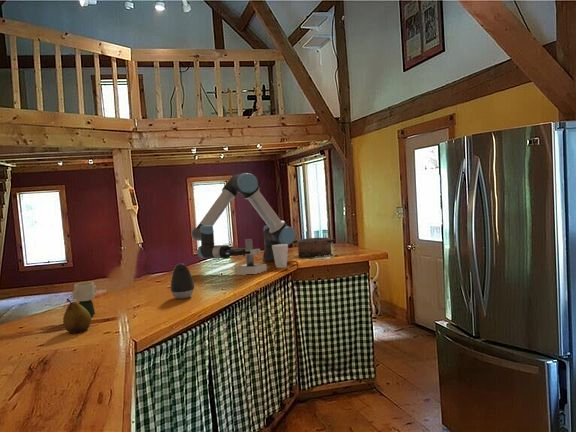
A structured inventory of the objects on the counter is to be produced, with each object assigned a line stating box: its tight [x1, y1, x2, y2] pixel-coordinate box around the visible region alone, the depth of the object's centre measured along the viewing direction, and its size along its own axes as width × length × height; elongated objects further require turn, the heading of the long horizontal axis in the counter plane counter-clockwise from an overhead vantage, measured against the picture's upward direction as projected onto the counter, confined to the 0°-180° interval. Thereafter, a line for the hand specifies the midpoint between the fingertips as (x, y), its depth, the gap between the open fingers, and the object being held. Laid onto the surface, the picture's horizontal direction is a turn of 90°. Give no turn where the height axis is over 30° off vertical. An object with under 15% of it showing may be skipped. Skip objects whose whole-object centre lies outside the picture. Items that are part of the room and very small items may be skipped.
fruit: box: [62, 298, 92, 334], centre depth 167 cm, size 9×9×12 cm
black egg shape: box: [170, 263, 195, 300], centre depth 213 cm, size 10×10×15 cm
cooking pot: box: [292, 237, 337, 258], centre depth 328 cm, size 30×22×11 cm
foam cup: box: [272, 244, 289, 269], centre depth 283 cm, size 10×9×13 cm
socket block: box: [234, 263, 268, 276], centre depth 270 cm, size 13×13×4 cm
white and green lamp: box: [71, 281, 97, 317], centre depth 189 cm, size 11×7×13 cm, turn 153°
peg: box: [244, 238, 255, 267], centre depth 269 cm, size 4×4×16 cm
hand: (257, 251), depth 267 cm, fingers closed on peg, 4 cm apart
